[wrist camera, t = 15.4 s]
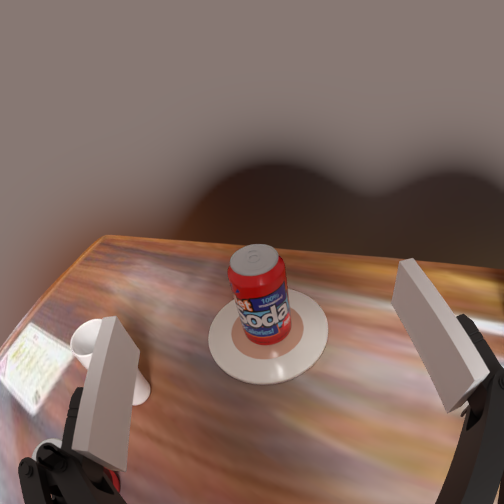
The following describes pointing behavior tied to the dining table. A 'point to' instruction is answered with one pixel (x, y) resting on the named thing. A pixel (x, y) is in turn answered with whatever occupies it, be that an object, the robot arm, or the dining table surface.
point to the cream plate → (269, 356)
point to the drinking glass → (84, 348)
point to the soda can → (261, 293)
